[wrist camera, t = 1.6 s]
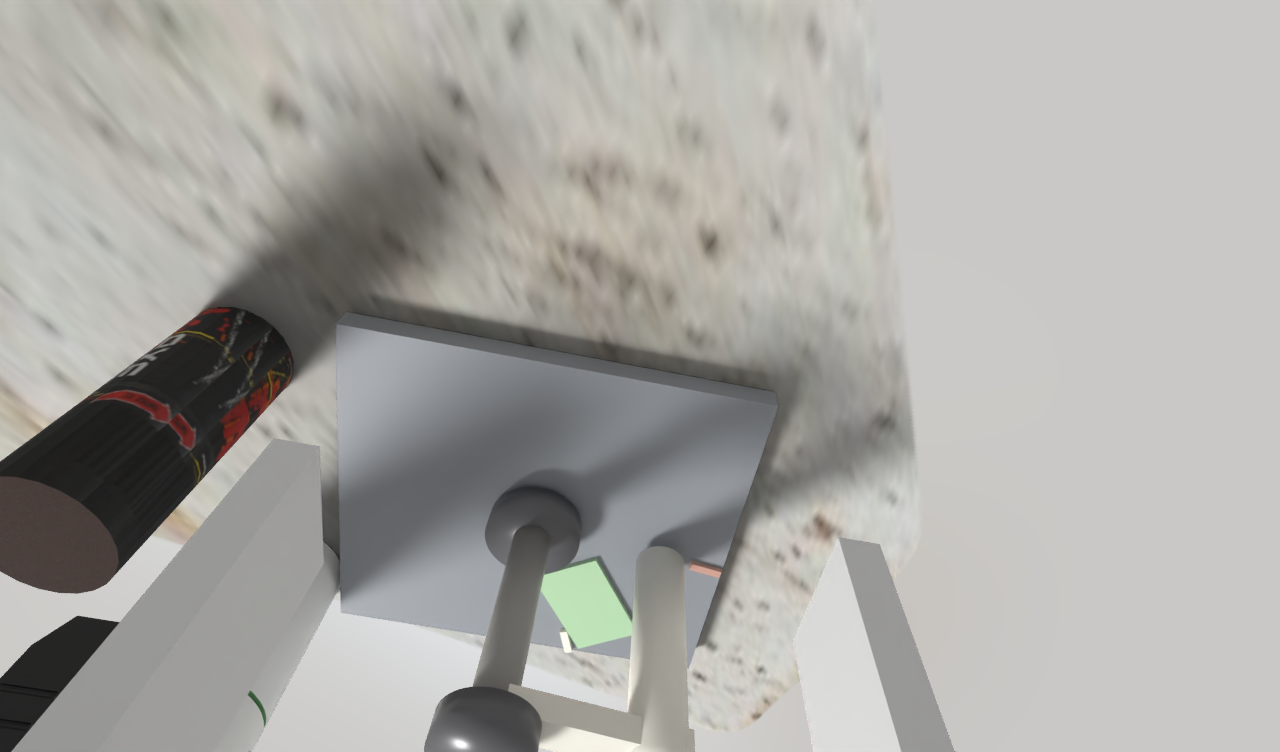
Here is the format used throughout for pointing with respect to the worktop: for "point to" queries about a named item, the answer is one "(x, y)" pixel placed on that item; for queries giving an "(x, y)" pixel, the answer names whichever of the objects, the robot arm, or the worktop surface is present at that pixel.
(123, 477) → the deodorant
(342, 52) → the worktop surface
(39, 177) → the worktop surface
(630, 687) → the post stand with crossbar
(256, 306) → the worktop surface
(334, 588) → the cylindrical container
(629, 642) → the plate
